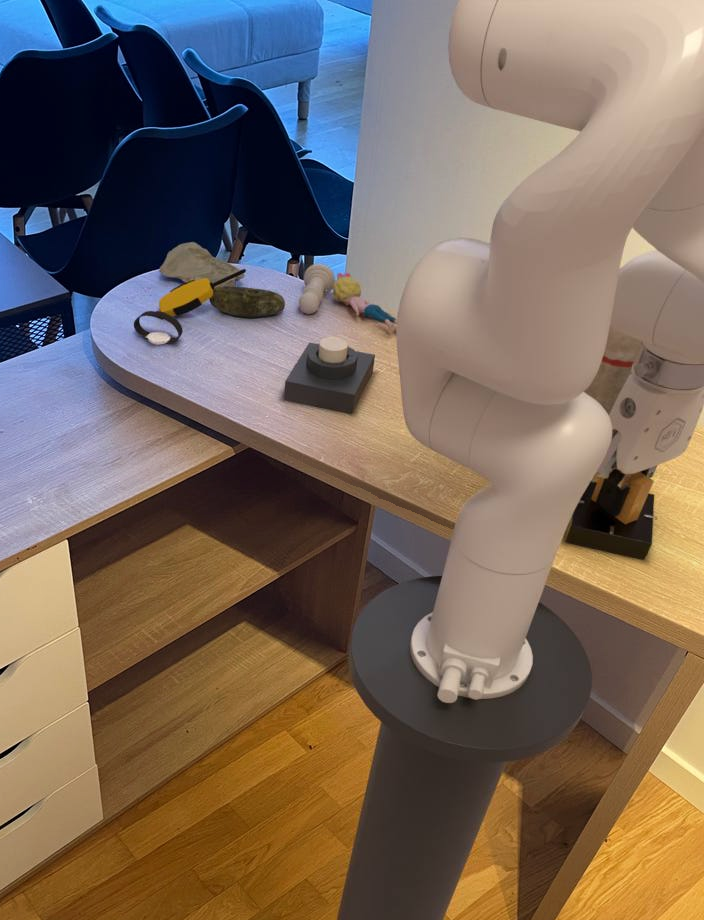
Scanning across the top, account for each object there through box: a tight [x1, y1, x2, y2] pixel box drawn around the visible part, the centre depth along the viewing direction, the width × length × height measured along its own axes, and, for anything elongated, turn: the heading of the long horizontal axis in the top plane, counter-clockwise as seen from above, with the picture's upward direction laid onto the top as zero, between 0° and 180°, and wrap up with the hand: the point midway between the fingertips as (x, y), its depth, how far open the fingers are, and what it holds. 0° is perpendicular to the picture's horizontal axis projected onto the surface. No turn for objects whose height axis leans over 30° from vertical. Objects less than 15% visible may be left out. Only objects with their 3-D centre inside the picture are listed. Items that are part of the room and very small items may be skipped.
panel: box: [564, 480, 658, 561], centre depth 108 cm, size 10×10×3 cm
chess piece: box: [298, 263, 336, 315], centre depth 147 cm, size 5×5×9 cm
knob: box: [591, 467, 655, 524], centre depth 105 cm, size 6×2×6 cm, turn 28°
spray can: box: [584, 326, 641, 415], centre depth 115 cm, size 8×8×20 cm
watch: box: [133, 310, 183, 345], centre depth 137 cm, size 8×5×4 cm
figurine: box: [332, 272, 397, 334], centre depth 144 cm, size 6×4×15 cm
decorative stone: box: [208, 286, 286, 319], centre depth 144 cm, size 12×5×4 cm, turn 101°
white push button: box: [318, 336, 349, 363], centre depth 126 cm, size 4×4×2 cm
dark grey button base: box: [283, 342, 376, 415], centre depth 128 cm, size 12×10×5 cm
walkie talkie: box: [158, 268, 247, 317], centre depth 142 cm, size 5×2×15 cm
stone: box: [158, 241, 246, 288], centre depth 153 cm, size 15×3×10 cm
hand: (615, 505), depth 106 cm, fingers closed on knob, 2 cm apart
